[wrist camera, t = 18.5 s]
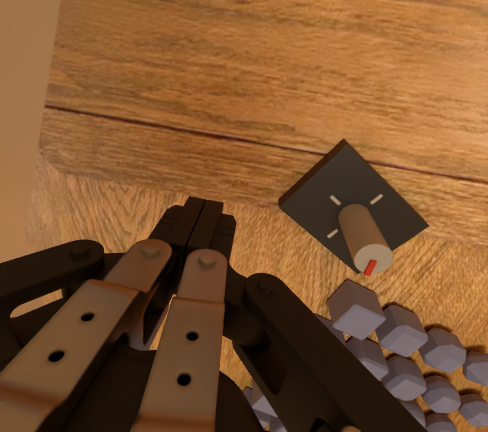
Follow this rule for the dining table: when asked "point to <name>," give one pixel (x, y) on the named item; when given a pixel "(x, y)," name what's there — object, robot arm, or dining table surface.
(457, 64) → the dining table surface
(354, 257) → the knob
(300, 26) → the dining table surface
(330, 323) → the blocks
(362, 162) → the panel
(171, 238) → the robot arm
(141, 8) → the dining table surface
